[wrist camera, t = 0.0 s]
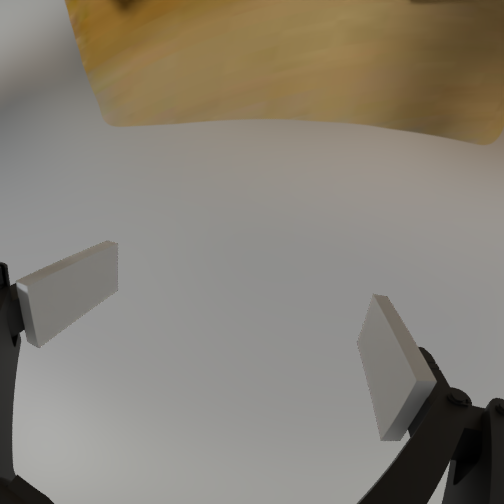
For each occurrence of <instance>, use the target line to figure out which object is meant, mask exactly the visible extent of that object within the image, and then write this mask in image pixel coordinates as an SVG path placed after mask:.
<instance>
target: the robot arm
mask: <svg viewBox="0 0 504 504" xmlns="http://www.w3.org/2000/svg"><path fill="white" fill-rule="evenodd" d="M117 255H118V243H115V242H110V241H105V242H102V243H100V244H98V245H95V246H93V247H90V248H88V249H86V250H83V251H81V252H79V253H76V254H74V255H72V256H69V257H67V258H65V259H63V260H60V261H58V262H56V263H54V264H52V265H49V266H47V267H45V268H43V269H40V270H38V271H36V272H34V273H32V274H30V275H28V276H26V277H23V278H21V279H19V280H17V281H16V283H15V284H13V285H11V286H10V281H9V274H8V267H7V265H6V264H5V263H2V262H0V504H54V503H53V502H52V501H51V500H50V499H49V498H48V497H47V496H46V495H44V494H43V493H41V492H40V491H38V490H37V489H35V488H34V487H33V486H31V485H30V484H29V483H27V482H26V481H25V480H23V479H22V478H21V477H20V476H18V475H17V476H16V475H15V473H14V469H13V459H12V419H13V418H12V417H13V401H14V389H15V379H16V371H17V363H18V357H19V350H20V344H21V337H20V332H22V331H23V330H25V333H26V337H27V341H28V342H29V343H31V344H32V345H34V346H36V347H38V348H40V347H41V346H42V345H44V344H45V343H47V342H48V341H49V340H50V339H52V338H53V337H54V336H56V335H57V334H58V333H60V332H61V331H62V330H64V329H65V328H67V327H68V326H69V325H71V324H72V323H73V322H75V321H76V320H77V319H79V318H80V317H81V316H83V315H84V314H85V313H87V312H88V311H90V310H91V309H93V308H94V307H95V306H97V305H98V304H100V303H101V302H102V301H104V300H105V299H107V298H108V297H109V296H110V295H112V294H114V293H115V292H116V291H118V271H117V270H118V269H117V268H118V267H117V265H118V262H117V261H118V256H117ZM357 345H358V349H359V352H360V356H361V359H362V363H363V367H364V371H365V375H366V379H367V382H368V387H369V390H370V394H371V399H372V403H373V407H374V412H375V416H376V420H377V425H378V429H379V434H380V439H381V441H400V440H401V439H402V437H403V436H404V434H405V433H406V431H407V430H408V431H409V434H410V439H409V440H408V442H407V443H406V445H405V446H404V447H403V449H402V450H401V451H400V453H399V454H398V455H397V457H396V458H395V460H394V461H393V462H392V464H391V465H390V466H389V467H388V469H387V470H386V471H385V472H384V473H383V475H382V476H381V477H380V478H379V480H378V481H377V482H376V483H375V484H374V485H373V487H372V488H371V489H370V490H369V491H368V492H367V493H366V494H365V495H364V496H363V498H362V499H361V500H360V501H359V502H358V503H357V504H427V503H428V501H429V499H430V498H431V496H432V494H433V492H434V491H435V489H436V487H437V485H438V483H439V481H440V480H441V478H442V476H443V474H444V472H445V470H446V468H447V466H448V464H449V462H450V466H449V472H448V478H447V483H446V488H445V492H444V497H443V501H442V504H504V400H503V399H500V398H495V399H492V400H491V401H490V402H489V404H488V405H487V407H486V408H480V407H476V406H472V402H471V399H470V398H469V396H468V395H467V394H466V393H464V392H463V391H461V390H459V389H456V388H451V387H450V386H449V384H448V383H447V381H446V379H445V377H444V376H443V374H442V372H441V370H439V367H438V365H437V364H435V360H434V359H433V357H432V355H431V354H430V353H429V352H428V351H426V350H425V349H424V348H422V347H418V346H417V345H416V343H415V341H414V340H413V338H412V336H411V334H410V333H409V331H408V329H407V328H406V326H405V324H404V323H403V321H402V319H401V318H400V316H399V314H398V313H397V311H396V310H395V308H394V306H393V305H392V303H391V302H390V300H389V298H388V297H387V296H382V295H376V294H373V296H372V299H371V302H370V305H369V309H368V312H367V315H366V318H365V321H364V324H363V327H362V330H361V333H360V335H359V338H358V341H357Z"/></svg>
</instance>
